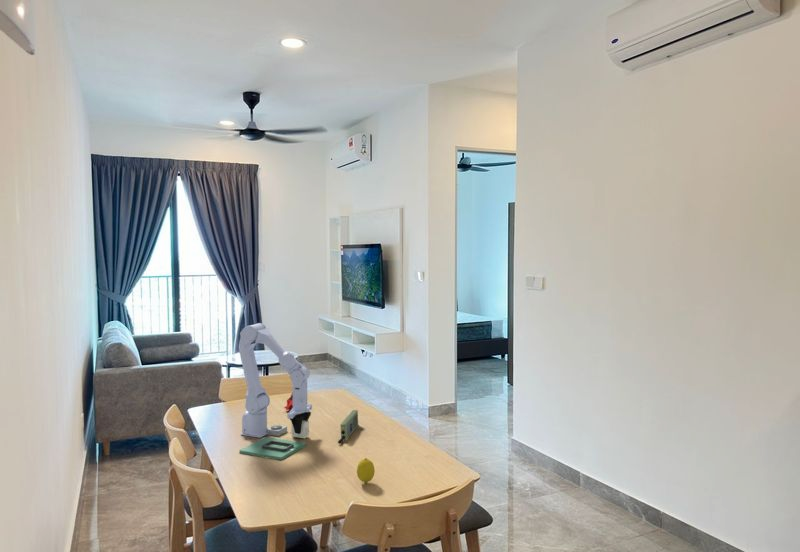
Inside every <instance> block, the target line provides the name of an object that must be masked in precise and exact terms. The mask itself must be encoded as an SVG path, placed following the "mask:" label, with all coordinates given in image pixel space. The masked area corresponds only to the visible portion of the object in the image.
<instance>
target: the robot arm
mask: <svg viewBox="0 0 800 552" xmlns="http://www.w3.org/2000/svg"><path fill="white" fill-rule="evenodd" d="M239 335H240V338H239V344H238V351H239V355H240V362H241V365H242V370H243V375H244V377H245V378H244V379H245V383H246V387H247V391H246V394H245V402H244V403H245V405H244V408H245V410H246V411H244V412H243V414H242V418H241V429H242V430H241V433H240V435H241V436H247V437H254V438H261V439H262V438H264V437H266V436H267V435H268V433H267V428H268V407H269V405H270V402H271V400H270V396H269V395H268V394H267V392H266V388H264V387H263V386H262V381H261V377H260V373H259V369H258V365H257V360H256V355H255V351H254V348H255V347H256V346H257V344H263V345H265V346H266V347H267V348H268V349H269V350H270V351H271V353H273V354H274V355H275V356H276V357H277V358H278V363H279V365H281V367H282V368H283V369H284V370H285V371H286V372H287V374H288V375H289V379H290V381H291V382H292V392H293V408H292V410H290V411H288V413H287V419H289V420H290V422H291V425H292V424H293V427H294V431H295V433H297V434H300V433H301V425H302V421H303V420H304V421H309V419H310V418H311V417H310V416H311V415H312V412H311V410H313V404H309V403H308V379H309V377H310V370H309V367H307V366H306V365H303V364H302V363H300V362H299V361H298V360H297V359H296V358H295V355H294V354H293V353H291V352H290V351H285V350H284V348H283V347H282V346H281V345H280V343H278V341H277V340H276V339H275V338H274V336H273V335H272V333H271V331H270V329H268V328H267V327H266V325H265V324H263V323H262V322H258V323H255V324H251V325H246V326H245V327H244V328H243V329H242V330H241V331H240V332H239Z"/></svg>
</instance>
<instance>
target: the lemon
mask: <svg viewBox="0 0 800 552" xmlns="http://www.w3.org/2000/svg"><path fill="white" fill-rule="evenodd" d="M356 474H357V478H358V480H360V481H361V482H363V483H364V484H368V483H369V482H370V481H372V479H373V478H374V476H375V465H374V463H373V462H372V460H370V459H369V458H366V457H365V458H364V459H362V460H360V461H359V462H358V464H357V468H356Z"/></svg>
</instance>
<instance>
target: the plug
mask: <svg viewBox="0 0 800 552" xmlns="http://www.w3.org/2000/svg"><path fill="white" fill-rule="evenodd" d="M309 436H310V421H309V420H308V421H304V420H303V421H302V425H301V433H300V434H297V433H295V431H294V427H293V424H292V423H291V437H293V438H298V439H299V438H300V439H306V438H309Z"/></svg>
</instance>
